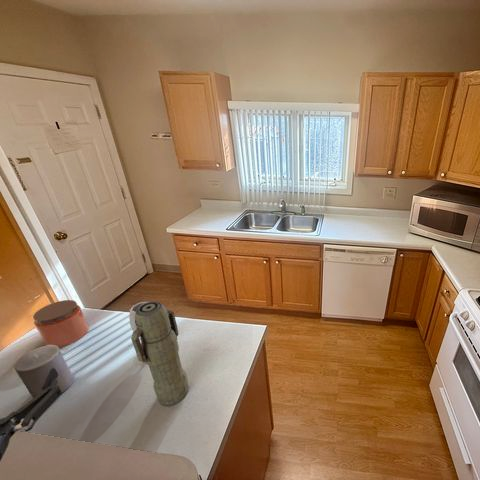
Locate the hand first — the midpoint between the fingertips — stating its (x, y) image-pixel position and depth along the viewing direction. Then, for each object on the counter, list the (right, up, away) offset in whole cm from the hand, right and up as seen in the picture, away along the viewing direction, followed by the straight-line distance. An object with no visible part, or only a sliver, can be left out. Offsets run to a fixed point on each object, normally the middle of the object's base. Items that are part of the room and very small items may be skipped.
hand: (21, 381), depth 69 cm
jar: (-21, 0, +34) cm, 39 cm away
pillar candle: (-5, -10, +14) cm, 18 cm away
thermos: (+34, -12, +13) cm, 38 cm away
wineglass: (+18, -4, +28) cm, 34 cm away
